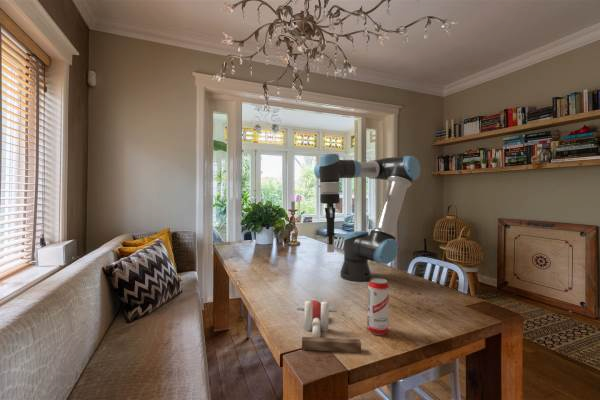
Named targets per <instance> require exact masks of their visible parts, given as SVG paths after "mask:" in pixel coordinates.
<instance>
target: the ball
mask: <svg viewBox="0 0 600 400" xmlns="http://www.w3.org/2000/svg"><path fill="white" fill-rule="evenodd" d="M311 301H312V320H313V319H314V318H319V319H320V318H321V302H320V301H319V300H315V299H314V300H313V299H312V300H311Z"/></svg>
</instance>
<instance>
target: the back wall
mask: <svg viewBox="0 0 600 400" xmlns="http://www.w3.org/2000/svg"><path fill="white" fill-rule="evenodd" d="M301 350H302V351H321V352H322V351H324V352H344V353H362V342H361V339H359V338H335V337H320V338H317V337H313V336H312V337H311V336H302V338H301Z"/></svg>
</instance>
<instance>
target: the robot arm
mask: <svg viewBox="0 0 600 400" xmlns="http://www.w3.org/2000/svg"><path fill="white" fill-rule="evenodd" d="M420 166H421V165H420V162H419V160H418V159H417V158H416V157H415V156H413V155H404V156H392V157H384V158H380V159H371V160H368V161H358V160H355V159H340V155H339V154H338V153H323V154H321V155H320V157H319V162H318V163H316V164H315V165H314V168H313V173H314V175H315V177H316V178H317V179H319V181H320V182H319V183H320V184H319V185H318V188H320V193H321V194H320V196H319V198H320V201H319V202H320V203H321V204H322V205H323V204H326V207H324V211H325V219H326V234H325V237H326V253H335V235H336V233H335V219H336V214H335V213H336V207H334V205H335V204H339V203H340V194H339V193H340V190H341V189H340V179H356V178H368V179H371V180H372V179H374V180H382V181H383V180H384V181H387V182H388V186H387V190H386V193H385V195H384V199H383V202H382V205H381V208H380V212H379V215H378V218H377V221H376V224H375V227H374V228H373V229H371V231H370V233H369V231H367V230H356V231H347V232H346V233H345V234H344V241H343V243H344V249H343V250H344V255H343V256H344V258H343V263H342V266H341V269H340V272H339V273H340V277H341V278H342V279H343V280H346V281H351V282H366V281H369V280H370V279H372V273H371V269H370V266H369V261H372V262H375V263H377V264H383V265H384V264H385V265H388V264H390V263H392V262H393V261H394V260H395V259H396V257H397V254H398V252H399V244H398V242H397V240H396V238H397V237H396V236H395V229H396V226H397V223H398V220H399V216H400V212H401V210H402V207H403V203H404V199H405V195H406V193H407V190H408V188H409V187H411V186H412V184H413V181H416V180H417V179H419V178H420V176H421V167H420Z"/></svg>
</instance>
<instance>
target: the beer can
mask: <svg viewBox="0 0 600 400" xmlns="http://www.w3.org/2000/svg"><path fill="white" fill-rule="evenodd" d="M389 299H390V286H389V284H388V280H387V279H385V278H381V277H373V278H372V277H371V279H370V281H369V283H368V287H367V312H366V313H367V317H366V318H367V319H366V320H367V321H366V322H367V323H366V328H367V330H368V331H369V333H371V334H372V335H376V336H384V335H385V334H386V333H388V331H389V307H390V306H389V303H390V300H389Z"/></svg>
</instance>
